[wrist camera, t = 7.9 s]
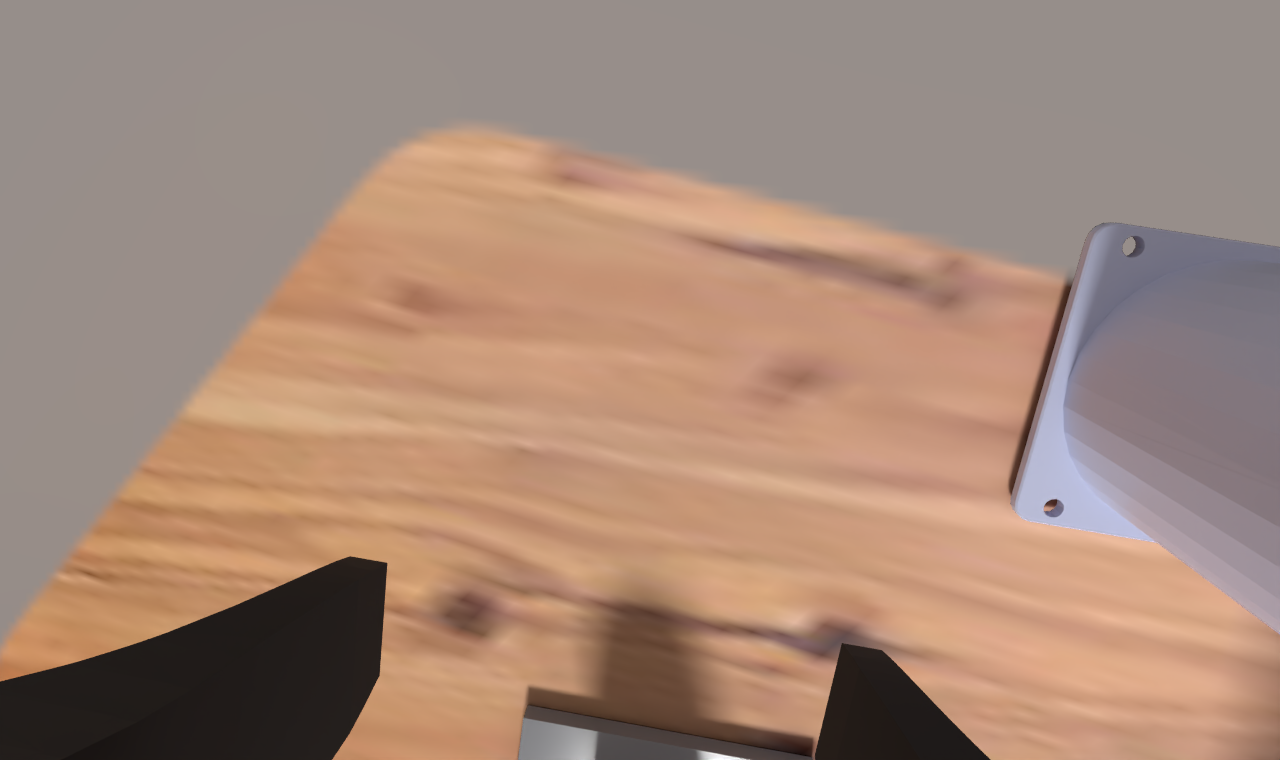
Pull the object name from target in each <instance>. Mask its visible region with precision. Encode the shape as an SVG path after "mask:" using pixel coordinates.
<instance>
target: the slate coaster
mask: <svg viewBox="0 0 1280 760" xmlns="http://www.w3.org/2000/svg"><path fill="white" fill-rule="evenodd" d="M518 760H813V759H812V757H808V756H802V755H797V754H791V753H786V752H780V751H775V750H769V749H764V748H759V747H753V746H748V745H742V744H737V743H731V742H726V741H720V740H715V739H710V738H704V737H699V736H693V735H688V734H682V733H677V732H671V731H666V730H661V729H655V728H650V727H644V726H639V725H633V724H628V723H622V722H617V721H612V720H606V719H601V718H595V717H590V716H584V715H579V714H574V713H568V712H563V711H557V710H552V709H546V708H541V707H535V706H530V705H528V706H527V709H526V712H525V715H524V718H523V726H522V733H521V741H520V749H519V757H518Z"/></svg>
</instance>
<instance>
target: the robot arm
mask: <svg viewBox="0 0 1280 760" xmlns="http://www.w3.org/2000/svg"><path fill="white" fill-rule="evenodd" d="M1129 237H1133V238H1134V240H1135V241H1136V248H1135V249H1134V251H1133V253H1131V254H1130V255H1128V256H1125V254H1124V253H1123V251H1122V245H1123V243H1124V242H1125V240H1126V239H1128V238H1129ZM1051 499H1057V505H1056V507H1055V508H1054V509H1052V510H1051V511H1045V512H1044V505H1045V504H1046V502H1048V501H1049V500H1051ZM1010 504H1011V506H1012V509H1013V510H1014V511H1015V512H1016V513H1017V514H1018V515H1019V516H1020V517H1021V518H1022V519H1024V520H1027V521H1030V522H1036V523H1042V524H1048V525H1054V526H1060V527H1065V528H1071V529H1077V530H1083V531H1089V532H1095V533H1101V534H1107V535H1113V536H1119V537H1125V538H1131V539H1137V540H1143V541H1149V542H1155V543H1158V544H1159V545H1161V546H1162V547H1163V548H1165V549H1166V550H1167V551H1169V552H1170V553H1171V554H1173V555H1174V556H1175V557H1177V558H1178V559H1179V560H1181V561H1182V562H1183V563H1185V564H1186V565H1187V566H1189V567H1190V568H1191V569H1193V570H1194V571H1195V572H1197V573H1198V574H1199V575H1201V576H1202V577H1203V578H1205V579H1206V580H1207V581H1209V582H1210V583H1211V584H1213V585H1214V586H1215V587H1217V588H1218V589H1219V590H1221V591H1222V592H1223V593H1225V594H1226V595H1227V596H1229V597H1230V598H1231V599H1233V600H1234V601H1235V602H1237V603H1238V604H1239V605H1241V606H1242V607H1243V608H1245V609H1246V610H1247V611H1249V612H1250V613H1252V614H1253V615H1254V616H1256V617H1257V618H1258V619H1260V620H1261V621H1262V622H1264V623H1265V624H1266V625H1268V626H1269V627H1270V628H1272V629H1273V630H1274V631H1276V632H1277V633H1278V634H1280V247H1276V246H1269V245H1263V244H1255V243H1249V242H1242V241H1235V240H1228V239H1222V238H1215V237H1208V236H1202V235H1195V234H1188V233H1182V232H1174V231H1168V230H1162V229H1155V228H1147V227H1141V226H1134V225H1128V224H1121V223H1102V224H1100V225H1098V226H1095V227H1094V228H1093V229H1092V230H1091V231H1090V232H1089V233H1088V236H1087V237H1086V240H1085V242H1084V246H1083V249H1082V253H1081V256H1080V260H1079V263H1078V267H1077V270H1076V274H1075V277H1074V280H1073V284H1072V287H1071V291H1070V294H1069V298H1068V301H1067V305H1066V308H1065V312H1064V315H1063V319H1062V322H1061V325H1060V329H1059V332H1058V336H1057V339H1056V343H1055V346H1054V350H1053V353H1052V357H1051V360H1050V364H1049V367H1048V370H1047V374H1046V377H1045V381H1044V384H1043V388H1042V391H1041V395H1040V398H1039V402H1038V405H1037V409H1036V412H1035V415H1034V419H1033V422H1032V426H1031V429H1030V433H1029V436H1028V440H1027V443H1026V447H1025V450H1024V454H1023V457H1022V460H1021V464H1020V467H1019V471H1018V474H1017V478H1016V481H1015V485H1014V488H1013V492H1012V495H1011V503H1010ZM386 574H387V563H384V562H379V561H373V560H367V559H362V558H356V557H347V558H344V559H341V560H338V561H336V562H333V563H331V564H329V565H326V566H324V567H321V568H319V569H317V570H315V571H312V572H310V573H308V574H306V575H303V576H301V577H299V578H297V579H294V580H292V581H290V582H288V583H285V584H283V585H281V586H279V587H276V588H274V589H272V590H270V591H267V592H265V593H263V594H261V595H258V596H256V597H254V598H251V599H249V600H247V601H245V602H242V603H240V604H238V605H235V606H233V607H230V608H228V609H225V610H223V611H220V612H218V613H215V614H213V615H210V616H208V617H205V618H203V619H200V620H198V621H195V622H193V623H190V624H188V625H185V626H183V627H180V628H178V629H175V630H173V631H170V632H168V633H165V634H162V635H159V636H156V637H154V638H151V639H148V640H145V641H142V642H139V643H136V644H133V645H130V646H127V647H124V648H121V649H118V650H115V651H111V652H108V653H105V654H102V655H99V656H95V657H92V658H89V659H86V660H82V661H79V662H75V663H72V664H68V665H64V666H60V667H56V668H52V669H49V670H45V671H41V672H37V673H33V674H29V675H25V676H21V677H17V678H13V679H9V680H5V681H1V682H0V760H332V759H333V757H334V756H335V754H336V753H337V751H338V750H339V748H340V747H341V745H342V744H343V742H344V741H345V739H346V738H347V736H348V735H349V733H350V732H351V730H352V728H353V726H354V724H355V722H356V720H357V719H358V717H359V715H360V713H361V711H362V709H363V707H364V705H365V703H366V701H367V699H368V697H369V695H370V693H371V691H372V689H373V687H374V685H375V683H376V681H377V679H378V677H379V675H380V661H381V646H382V632H383V617H384V603H385V588H386ZM815 760H990V759H989V758H988V757H987V756H986V755H985V754H984V753H983V752H982V751H981V750H980V749H979V748H978V747H977V746H976V745H975V744H974V743H973V742H972V741H971V740H970V739H969V738H968V737H967V736H966V735H965V734H964V733H963V732H962V731H961V730H960V729H959V728H958V727H957V726H956V725H955V724H954V723H953V722H952V721H951V720H950V719H949V718H948V717H947V716H946V715H945V714H944V713H943V712H942V711H941V710H940V709H939V708H938V707H937V706H936V705H935V704H934V703H933V702H932V700H931V699H930V698H929V697H928V696H927V695H926V694H925V693H924V692H923V691H922V690H921V689H920V688H919V687H918V686H917V685H916V684H915V683H914V682H913V681H912V680H911V679H910V677H909V676H908V675H907V674H906V673H905V672H904V671H903V670H902V669H901V668H900V667H899V666H898V665H897V664H896V663H895V662H894V661H893V660H892V659H891V658H890V657H889V656H888V655H886V654H885V653H884V652H883V651H882V650H877V649H872V648H866V647H860V646H855V645H849V644H843V643H842V645H841V649H840V654H839V658H838V662H837V666H836V670H835V674H834V678H833V683H832V687H831V691H830V695H829V699H828V703H827V707H826V712H825V716H824V720H823V724H822V728H821V732H820V736H819V740H818V745H817V749H816V753H815Z"/></svg>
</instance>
